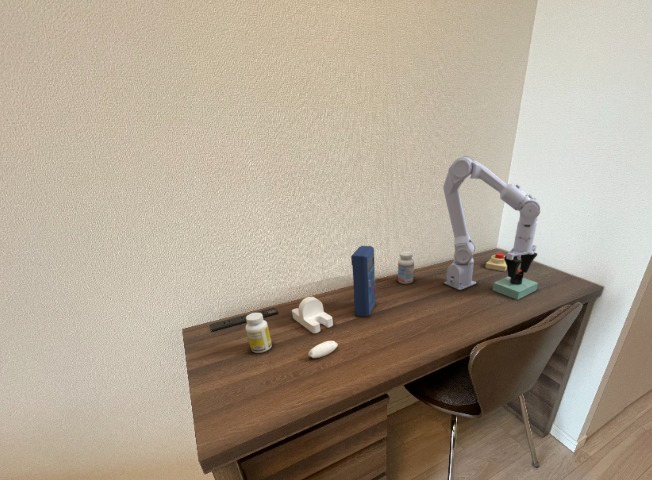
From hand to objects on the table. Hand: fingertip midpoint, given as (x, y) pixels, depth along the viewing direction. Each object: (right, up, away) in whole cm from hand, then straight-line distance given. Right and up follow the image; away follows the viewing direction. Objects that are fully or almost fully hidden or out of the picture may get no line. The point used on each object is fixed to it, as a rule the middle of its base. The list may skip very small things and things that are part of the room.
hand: (517, 274), depth 113 cm
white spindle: (-63, -23, -29) cm, 73 cm away
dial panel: (0, -5, +3) cm, 6 cm away
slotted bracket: (-69, -16, -14) cm, 72 cm away
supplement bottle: (-80, -22, -26) cm, 87 cm away
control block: (+2, +6, +24) cm, 25 cm away
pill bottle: (-39, -2, +12) cm, 40 cm away
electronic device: (-53, -12, -8) cm, 55 cm away
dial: (0, -3, +1) cm, 3 cm away
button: (+2, +9, +22) cm, 24 cm away
